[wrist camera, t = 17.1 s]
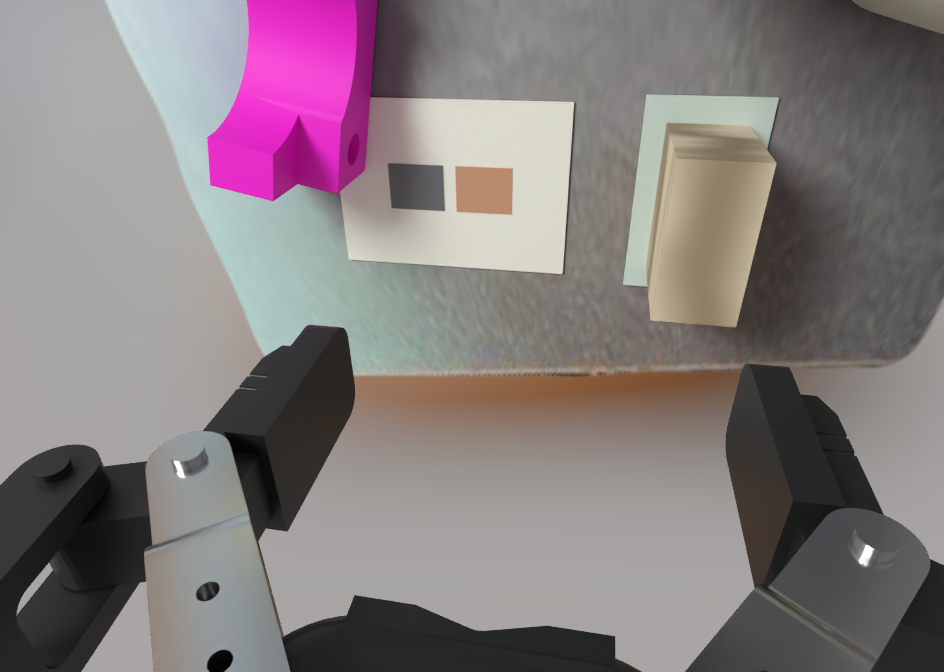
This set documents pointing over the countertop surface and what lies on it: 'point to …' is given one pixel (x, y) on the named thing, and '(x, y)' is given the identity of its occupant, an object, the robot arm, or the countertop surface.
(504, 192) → the tile
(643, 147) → the pad
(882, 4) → the travel mug
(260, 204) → the countertop surface
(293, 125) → the toy block
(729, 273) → the maple block
